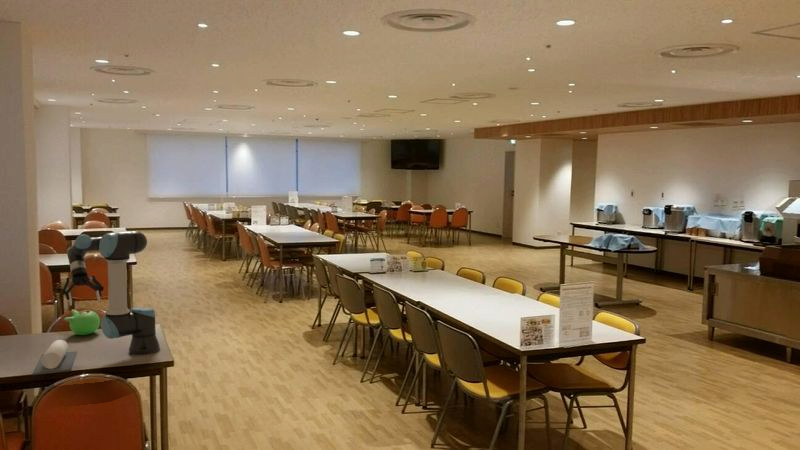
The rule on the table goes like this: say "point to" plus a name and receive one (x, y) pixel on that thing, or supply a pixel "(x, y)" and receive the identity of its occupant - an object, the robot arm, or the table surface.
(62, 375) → the table surface
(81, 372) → the table surface
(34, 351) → the table surface
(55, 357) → the bottle
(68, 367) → the mat
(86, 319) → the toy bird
